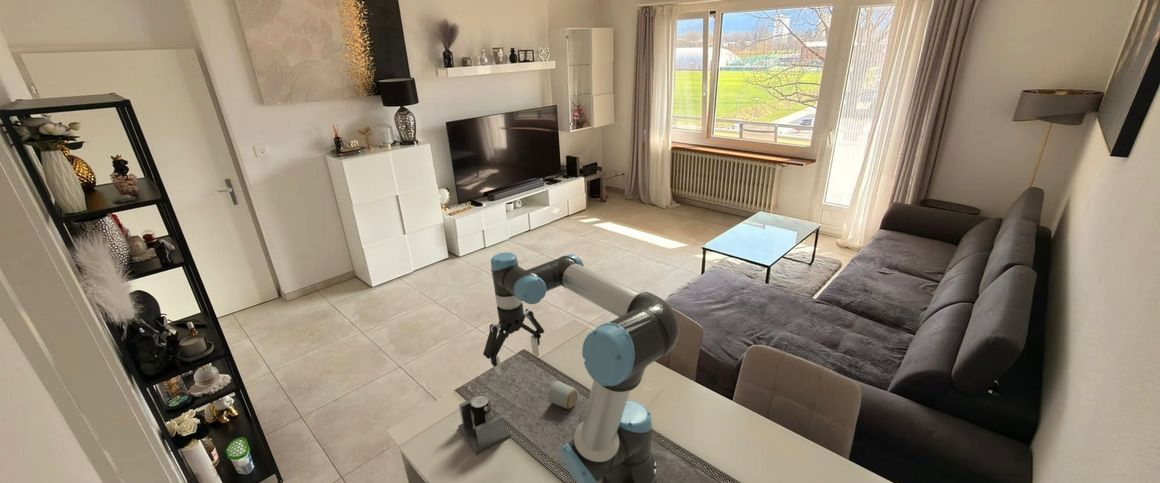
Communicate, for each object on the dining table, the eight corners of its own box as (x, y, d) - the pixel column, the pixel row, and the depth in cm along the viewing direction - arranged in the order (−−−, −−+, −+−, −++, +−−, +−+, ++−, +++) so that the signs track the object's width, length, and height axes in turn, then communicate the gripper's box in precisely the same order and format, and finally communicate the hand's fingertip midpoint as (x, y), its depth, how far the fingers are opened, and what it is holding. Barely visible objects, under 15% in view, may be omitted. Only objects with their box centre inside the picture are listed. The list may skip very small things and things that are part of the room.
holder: (510, 436, 154) (508, 414, 150) (476, 454, 147) (472, 432, 144) (491, 411, 164) (488, 390, 160) (458, 428, 158) (454, 406, 154)
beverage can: (472, 426, 157) (467, 397, 152) (491, 419, 159) (487, 390, 155) (476, 440, 151) (471, 410, 147) (497, 432, 154) (492, 403, 149)
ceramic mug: (568, 414, 161) (567, 396, 158) (548, 406, 165) (547, 388, 162) (583, 395, 170) (583, 377, 167) (564, 388, 173) (563, 371, 170)
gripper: (537, 285, 150) (543, 342, 158) (465, 314, 136) (475, 375, 144) (551, 293, 144) (557, 352, 152) (477, 324, 130) (487, 387, 138)
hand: (517, 363), depth 148 cm, fingers open, 13 cm apart
